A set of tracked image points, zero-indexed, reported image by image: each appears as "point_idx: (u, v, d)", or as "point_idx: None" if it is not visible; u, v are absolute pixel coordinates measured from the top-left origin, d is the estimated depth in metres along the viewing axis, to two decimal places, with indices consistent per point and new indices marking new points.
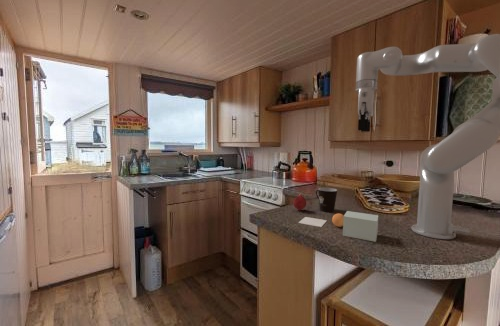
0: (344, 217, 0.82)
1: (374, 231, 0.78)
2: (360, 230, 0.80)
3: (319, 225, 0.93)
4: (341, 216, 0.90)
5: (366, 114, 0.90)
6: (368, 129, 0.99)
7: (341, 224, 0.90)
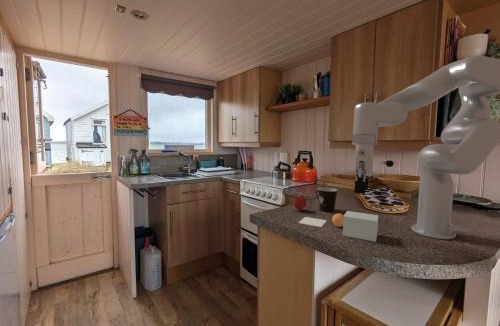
0: (344, 217, 0.82)
1: (374, 231, 0.78)
2: (360, 230, 0.80)
3: (319, 225, 0.93)
4: (341, 216, 0.90)
5: (364, 176, 0.77)
6: (366, 187, 0.86)
7: (341, 224, 0.90)
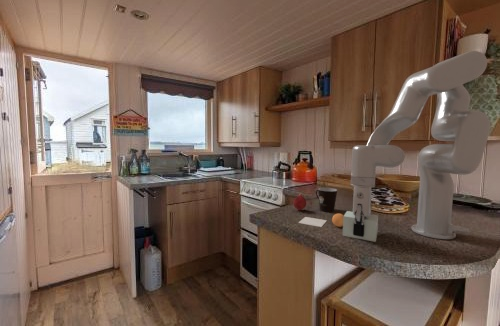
0: (344, 217, 0.82)
1: (374, 231, 0.78)
2: None
3: (319, 225, 0.93)
4: (341, 216, 0.90)
5: (362, 219, 0.79)
6: None
7: (341, 224, 0.90)
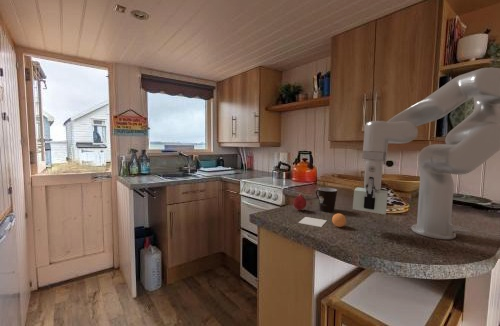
0: (355, 191, 0.84)
1: (384, 204, 0.80)
2: None
3: (319, 225, 0.93)
4: (341, 216, 0.90)
5: (373, 192, 0.81)
6: None
7: (341, 224, 0.90)
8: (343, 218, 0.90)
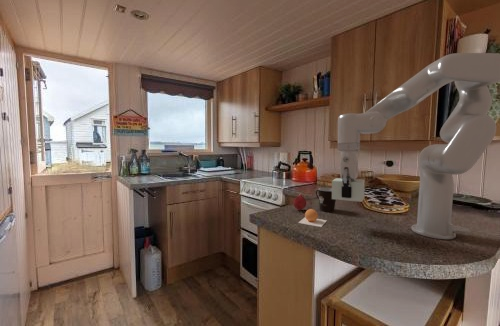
0: (332, 181, 0.89)
1: (360, 192, 0.84)
2: None
3: (319, 225, 0.93)
4: None
5: (349, 181, 0.85)
6: None
7: (306, 217, 0.97)
8: (310, 221, 0.97)
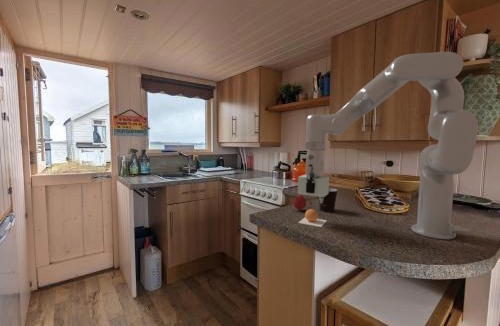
0: (299, 177, 0.95)
1: (322, 188, 0.90)
2: None
3: (319, 225, 0.93)
4: None
5: (313, 178, 0.91)
6: None
7: (306, 217, 0.97)
8: (310, 221, 0.97)
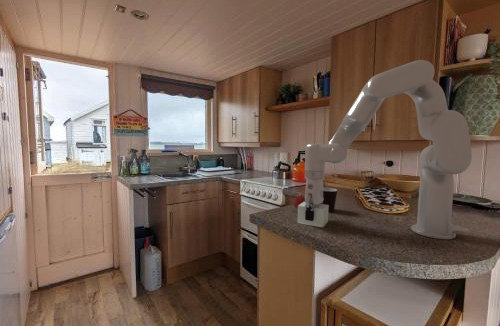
0: (298, 206, 0.96)
1: (322, 218, 0.91)
2: None
3: None
4: None
5: (312, 206, 0.92)
6: None
7: None
8: None
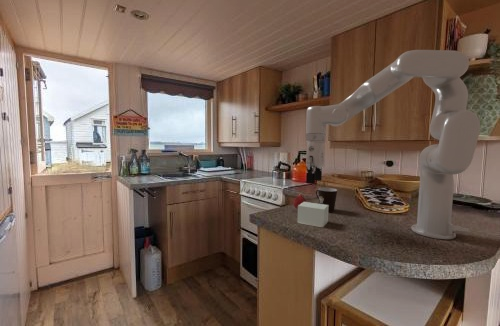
0: (298, 206, 0.96)
1: (322, 218, 0.91)
2: (311, 217, 0.93)
3: None
4: None
5: (313, 168, 0.90)
6: (320, 178, 0.99)
7: None
8: None
